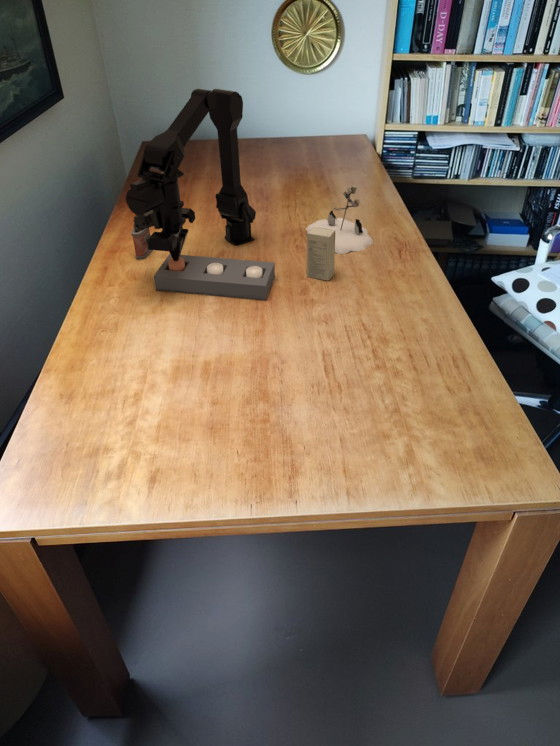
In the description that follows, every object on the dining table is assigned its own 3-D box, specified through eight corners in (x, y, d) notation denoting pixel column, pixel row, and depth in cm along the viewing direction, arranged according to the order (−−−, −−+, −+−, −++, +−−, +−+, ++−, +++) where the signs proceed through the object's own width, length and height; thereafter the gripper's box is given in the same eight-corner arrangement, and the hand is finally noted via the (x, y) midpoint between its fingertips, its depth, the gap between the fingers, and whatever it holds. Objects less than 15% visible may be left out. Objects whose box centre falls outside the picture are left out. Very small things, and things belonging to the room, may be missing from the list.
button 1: (225, 277, 141) (224, 263, 138) (221, 285, 137) (220, 271, 135) (210, 276, 141) (209, 262, 139) (206, 284, 138) (204, 269, 135)
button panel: (274, 276, 142) (274, 262, 140) (265, 300, 133) (265, 286, 131) (171, 267, 146) (169, 253, 144) (155, 290, 137) (153, 276, 135)
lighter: (144, 260, 149) (138, 225, 143) (133, 259, 150) (126, 224, 144) (155, 247, 155) (150, 213, 149) (144, 246, 156) (138, 212, 150)
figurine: (292, 233, 160) (297, 179, 149) (336, 216, 170) (344, 164, 159) (340, 263, 150) (350, 208, 139) (384, 244, 159) (397, 191, 148)
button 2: (264, 280, 139) (263, 266, 137) (260, 288, 136) (260, 274, 134) (248, 279, 140) (248, 265, 137) (245, 287, 137) (244, 273, 134)
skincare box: (334, 274, 143) (337, 230, 135) (328, 281, 140) (331, 237, 132) (311, 269, 145) (313, 225, 138) (305, 276, 142) (306, 232, 134)
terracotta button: (187, 271, 141) (186, 257, 139) (183, 279, 138) (181, 264, 136) (173, 270, 142) (171, 256, 139) (167, 277, 139) (165, 263, 136)
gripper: (149, 183, 136) (158, 241, 146) (119, 213, 122) (131, 276, 132) (192, 186, 134) (198, 244, 144) (167, 217, 120) (176, 280, 130)
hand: (176, 260), depth 138 cm, fingers closed, pressing on terracotta button
